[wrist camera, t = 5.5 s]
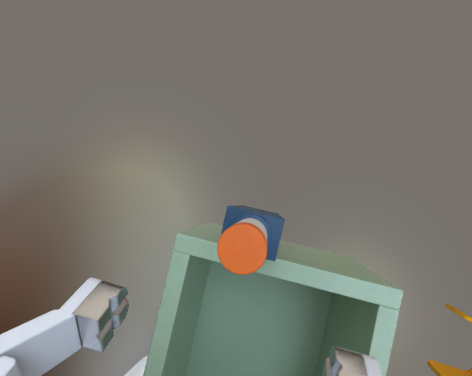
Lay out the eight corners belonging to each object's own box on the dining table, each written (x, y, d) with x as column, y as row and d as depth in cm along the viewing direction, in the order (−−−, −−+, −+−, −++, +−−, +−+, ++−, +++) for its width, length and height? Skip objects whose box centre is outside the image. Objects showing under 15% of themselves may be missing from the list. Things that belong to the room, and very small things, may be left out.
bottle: (280, 295, 13) (295, 227, 13) (190, 270, 13) (205, 206, 13) (271, 239, 33) (277, 213, 33) (236, 230, 33) (242, 205, 34)
